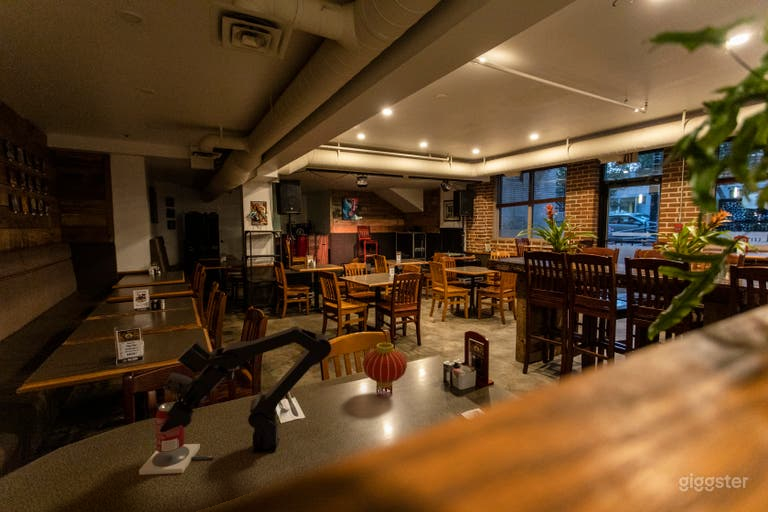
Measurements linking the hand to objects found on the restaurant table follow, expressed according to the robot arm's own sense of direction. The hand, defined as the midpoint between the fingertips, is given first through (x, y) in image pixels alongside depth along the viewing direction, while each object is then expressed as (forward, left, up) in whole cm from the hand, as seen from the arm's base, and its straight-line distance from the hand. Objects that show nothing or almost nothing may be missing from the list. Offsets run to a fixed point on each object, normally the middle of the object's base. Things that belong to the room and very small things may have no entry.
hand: (165, 424), depth 101 cm
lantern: (-64, -36, -11) cm, 74 cm away
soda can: (-1, 0, -7) cm, 7 cm away
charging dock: (-4, 0, -11) cm, 11 cm away
